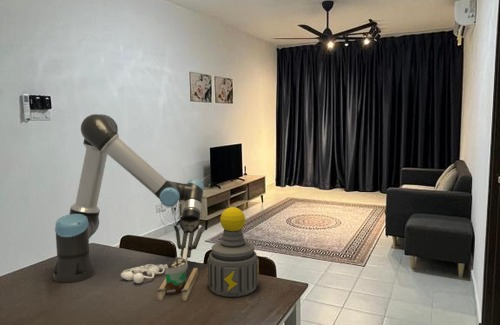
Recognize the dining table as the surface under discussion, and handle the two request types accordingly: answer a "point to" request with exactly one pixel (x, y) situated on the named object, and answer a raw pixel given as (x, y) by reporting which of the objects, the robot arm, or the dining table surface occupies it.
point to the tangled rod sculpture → (138, 270)
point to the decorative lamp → (233, 259)
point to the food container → (176, 276)
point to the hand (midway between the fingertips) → (184, 264)
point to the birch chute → (185, 291)
